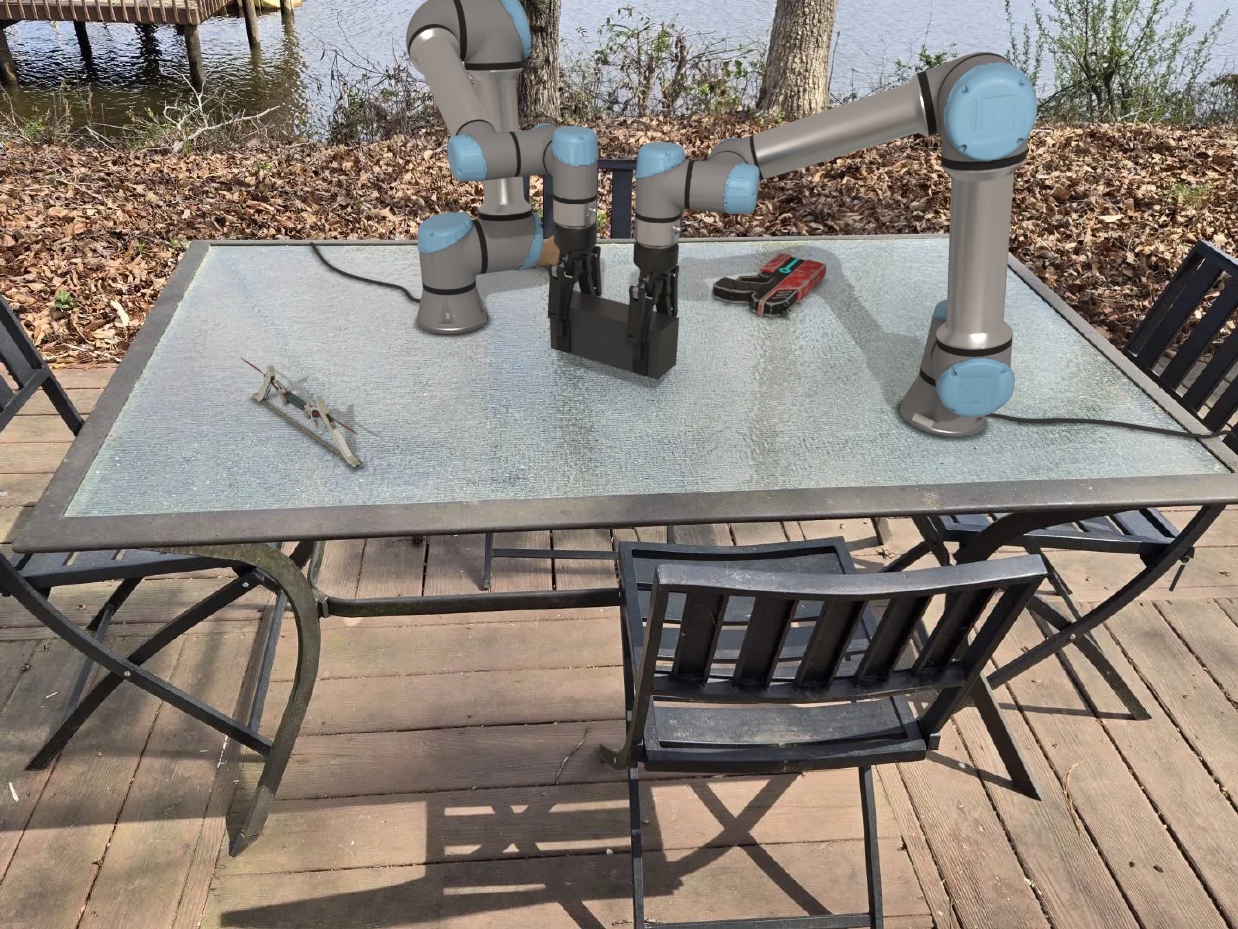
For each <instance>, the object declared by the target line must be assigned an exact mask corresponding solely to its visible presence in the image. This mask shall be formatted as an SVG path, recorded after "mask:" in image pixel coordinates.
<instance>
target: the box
mask: <svg viewBox="0 0 1238 929" xmlns="http://www.w3.org/2000/svg"><path fill="white" fill-rule="evenodd" d="M628 312H629V303H624V302H620V301H617V300H613V299H609V298H605V297H601V296H600V297H599V296H594V295H590V294H586V293H582V292H581V291H578V290H575V289H573V294H572V300H571V305H570V310H569V315H568V318H569V319H571V352H570V353H567V352H564V351H561V350H557V336H556V320H554V319H550V318H549V335H550V336H549V337H550V338H549V339H550V340H549V341H550V349H552V350H555V351H558V352H561V353H564V354H565V353H566V354H569V355H571V356H575V357H579V358H582V359H585V360H589V361H591V362H596V363H598V364H602V365H606V366H608V367H612V368H615V369H619V370H622V371H626V372H629V373H632V370H633V343H632V342H629V341H626V333H627V322H628ZM679 326H680V317H679V316H676V317H675V316H671V315H667V314H663V313H659V312H657V311H655V310H653V313H652V317H651V322H650V326H649V331H648V336H647V340H646V341H649V357H648V375H647V376H646V378H649V379H653V380H656V381H658V380H659V379H661V378H662V377H663V376H664V375H665V374H667V373H668V372H669V371H670V370H672V369H673V368H674V367H676V366H677V360H678V358H677V357H678V343H679V328H680V327H679Z"/></svg>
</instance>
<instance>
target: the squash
mask: <svg viewBox="0 0 1238 929" xmlns="http://www.w3.org/2000/svg"><path fill="white" fill-rule="evenodd" d="M559 252H560V250H559V249H558V247H557V246H556V245H555V244H554V234H553V235H551V236H549V238H547V239H546V240H545V241H544V242H543V248H542V253H541V256H540V259H539V260H538V262H537V263H536V264H535V265H534V266H546V267H548V266H549V265H550V264H552V265H555V264H556V263H557V262H558V257H559Z"/></svg>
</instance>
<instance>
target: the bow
mask: <svg viewBox="0 0 1238 929" xmlns="http://www.w3.org/2000/svg"><path fill="white" fill-rule="evenodd" d="M240 359H241V360H242V361H243V362H245V363H246V364H248V365H249V366H250V367H252V368H253V369H255V370H256V371H258V372H259V373H260V374H262V375H263V383H262V384H261V385H260V387H259V389H258V392H255V393H253V394H252V397H253V399H254V400H255V401H257V402H262V403H263V404H265V405H266V406H268V407H269V408H271V409H272V410H274V411H275V412H277V413H278V414H280V416H282V417H284V418H285V419H287V420H289V421H290V422H291V423H293V424H294V425H295V426H297V427H298V428H300V429H301V430H303V431H304V432H306V433H307V434H309V435H310V436H311V437H313V438H314V439H316V440H317V441H319V442H320V443H322V445H325V446H326V447H328V449H330V450H332V451H333V452H335V453H336V454H337V455H339V456H341V457H342V458H343V459H345V461H346V462H347V463H348V464H349V466H351V467H353V468H357V466H361V465H362V464H361V462H359V460H358V459H357V458H356V457H355V456H354V454H353V453H352V452H351V450H350V448H349V446H348V444H347V442H346V440H345V438H344V437H343V435H342V433H341V431H340V430H339V428H338V425H340V426H341V427H343V428H345V429H346V430H348V431H349V432H351V433H353V434H355V435H357V436H358V435H359V433H358V432H356V431H355V430H354V429H352V428H351V427H349V426H347V425H346V424H344V423H342V422H340V421H339V420H336V419H335V418H334V417H333V415H332V413H331V411H330V409H329V408H328V407H327V404H326V403H325V400H324V397H323V396H322V395H318V396H315V402H314V401H312V402H310V403H307V402H306V400H304V399H303V398H302V397H300V396H299V395H297V394H295V393H293V392H292V388H291V386H289V385H288V386H286V387H285V385H284V384H283V383H282V382H280V381H279V380H277V379H276V371H275V367H274V364H271V365H268V366H267V367H266V372H265V373H264V372H263V371H261V370H260V368H259V367H256V366H255V364H252V363H250V361H248V360H246V359H244V358H243V357H242V356H240ZM272 387H273V388H274V389H275V390H276V391H277V392H278V395H279V397H280V405H281V407H282V408H286V407H288V406H289V407H290V405H292V406H293V407H295V408H296V409H298V410H300V411H302V414H303V417H304V418H305V419H307V420H309V421H310V422H311V425H312V428H313V429H315V430H316V429H318V428H321V427H322V425H321V423H320V419H319V418H321V419H322V420H323V422H324V424H325V426H326V428H327V429H328V431H329V433H330V435H331V437H332V439H333V442H334V443H335V445H336V446H337V448H338V451H339V452H338V451H337V450H336V449H334V448H332V447H331V446H330V445H328V444H327V443H325V442H324V441H323V440H321V439H319V438H318V437H317V436H315V435H314V434H312V433H311V432H309V431H308V430H307V429H305V428H304V427H302V426H300V424H297V423H296V422H295V421H293V420H292V419H291V418H289V417H288V416H286V415H285V414H284V413H282V412H280V411H279V410H277V409H276V408H274V407H273V406H271V405H270V404H269V403H268V402H266V401H265V400H266V399H267V398H268V397H269V394H270V393H271V390H272ZM337 424H338V425H337Z"/></svg>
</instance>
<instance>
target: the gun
mask: <svg viewBox="0 0 1238 929" xmlns="http://www.w3.org/2000/svg"><path fill="white" fill-rule="evenodd" d="M826 273H827V264H826V263H823V262H820V261H816V260H812V259H802V258H799V257H795V256H793V255H792V254H791V253H784V252H780V253H778V254H777V255H775V256H774V257H773V258H771V259H770V260H768V261H767V262H766V263H765V264H763V265H762V266H761V267H760V269H759V271H758V273H757V274H756V275H753V274H752V275H751V274H750V275H740V276H738V277H737V278H735V279H734V278H731V277H727V276H722V277H720V279H717V281H715V282H713V283H712V291H711V297H713V298H714V299H716V300H719V301H723V302H727V303H730V304H750V305H749V308H750V310H751V312H753V313H755V314H757V315H758V316H760V317H761V316H765V317H770V318H771V317H777V316H780V317H784V318H787V317H788V315H789V311H788V310H790V309H791V308H792V307H793V306H794V305H795V304H798V303H799V302H801V301H802V300H803V299H804V298H805V297H807V296H808V295H809V294H810V293H811V292H812V291H813V290H814V289H815V287H817V285H818V284H820V283H821V282H822V280H823V279H824V278H825V276H826Z"/></svg>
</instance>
